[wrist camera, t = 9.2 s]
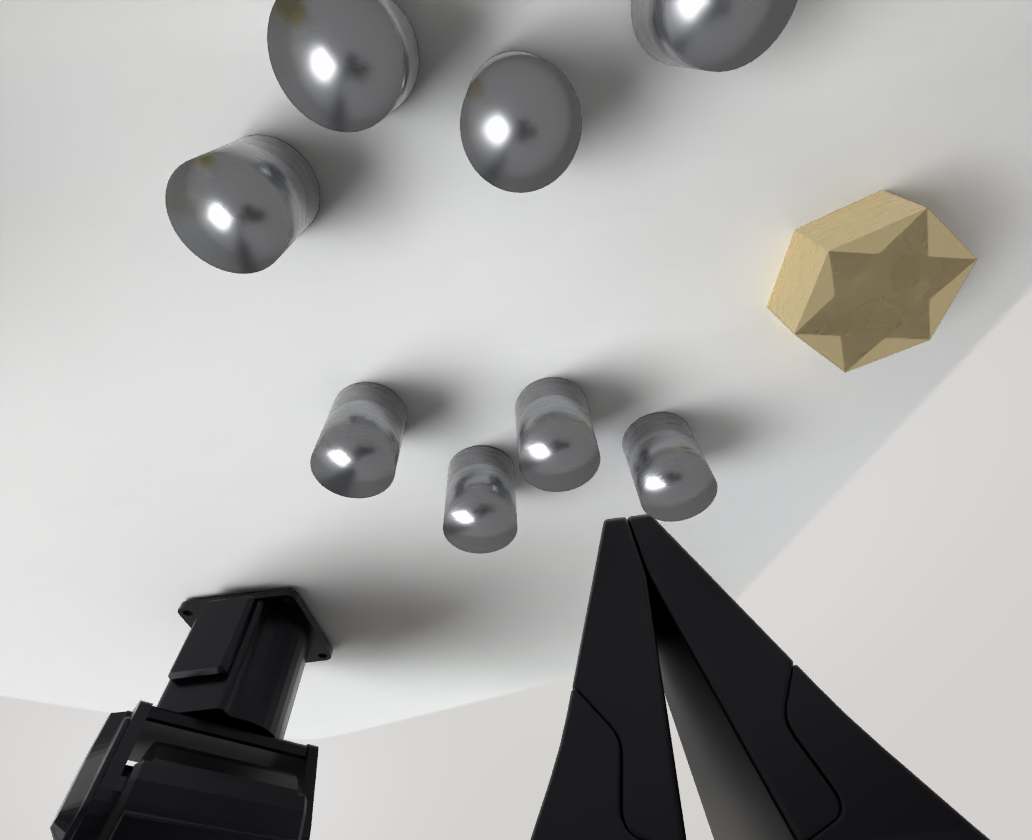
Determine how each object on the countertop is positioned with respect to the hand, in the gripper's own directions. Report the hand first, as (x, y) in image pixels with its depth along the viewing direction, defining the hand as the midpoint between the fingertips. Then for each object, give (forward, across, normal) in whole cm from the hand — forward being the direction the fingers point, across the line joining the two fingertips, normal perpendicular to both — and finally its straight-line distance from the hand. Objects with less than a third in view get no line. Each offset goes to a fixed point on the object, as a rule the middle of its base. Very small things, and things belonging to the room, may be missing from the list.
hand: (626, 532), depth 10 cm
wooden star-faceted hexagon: (+12, -11, +1) cm, 16 cm away
